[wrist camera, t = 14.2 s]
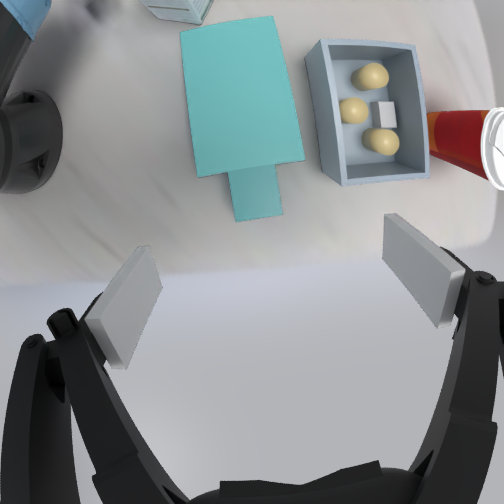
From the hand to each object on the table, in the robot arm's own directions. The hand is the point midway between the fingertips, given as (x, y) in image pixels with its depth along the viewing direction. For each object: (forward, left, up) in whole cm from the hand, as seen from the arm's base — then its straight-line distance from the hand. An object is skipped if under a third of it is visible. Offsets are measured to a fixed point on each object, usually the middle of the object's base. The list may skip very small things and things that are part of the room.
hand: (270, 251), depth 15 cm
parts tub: (+12, +7, -20) cm, 24 cm away
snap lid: (-1, +7, -21) cm, 22 cm away
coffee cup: (+24, +4, -20) cm, 31 cm away
